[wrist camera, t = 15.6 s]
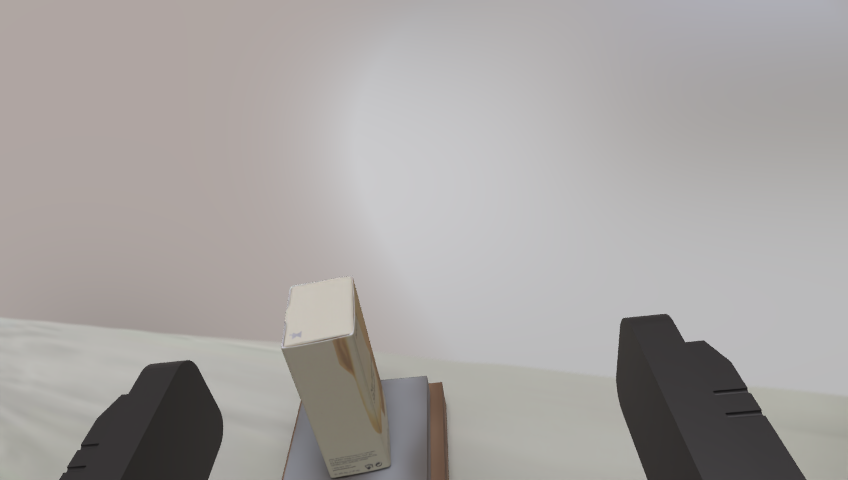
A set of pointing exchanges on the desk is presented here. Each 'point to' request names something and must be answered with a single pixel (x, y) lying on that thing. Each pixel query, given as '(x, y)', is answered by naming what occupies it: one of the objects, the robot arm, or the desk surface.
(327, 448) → the skincare box
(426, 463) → the metal plate on wood
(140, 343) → the desk surface
